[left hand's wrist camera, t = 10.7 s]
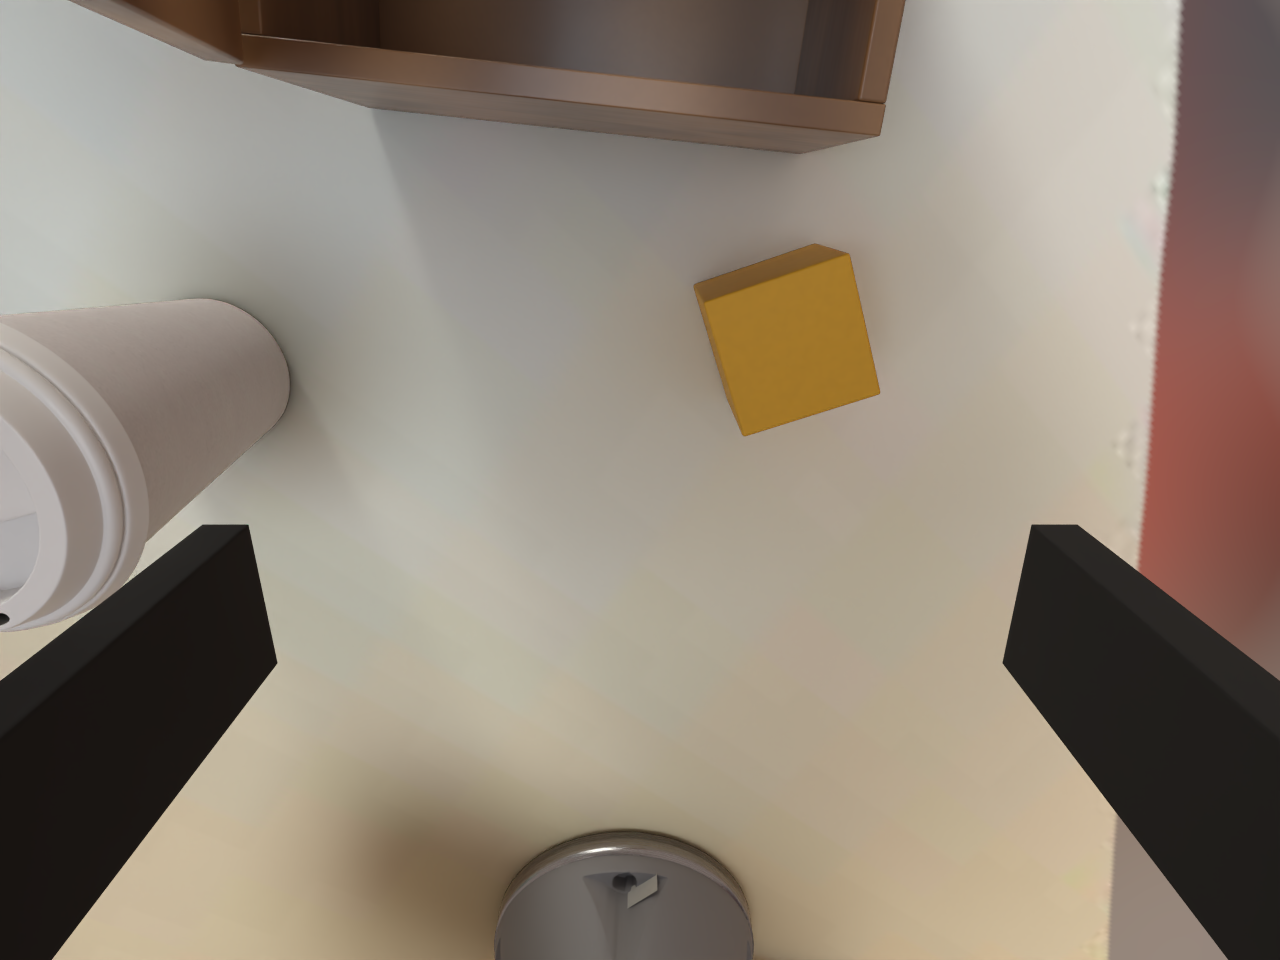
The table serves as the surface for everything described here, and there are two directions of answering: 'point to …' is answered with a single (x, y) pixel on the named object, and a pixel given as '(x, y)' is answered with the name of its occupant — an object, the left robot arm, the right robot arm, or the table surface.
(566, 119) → the chest
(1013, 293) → the table surface
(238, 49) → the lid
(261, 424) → the coffee cup
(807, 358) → the block
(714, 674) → the table surface
